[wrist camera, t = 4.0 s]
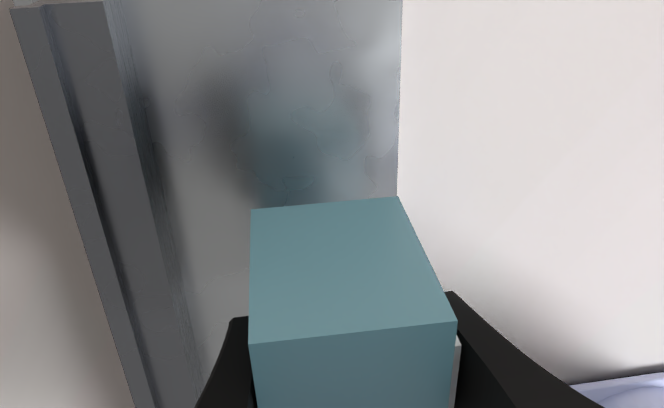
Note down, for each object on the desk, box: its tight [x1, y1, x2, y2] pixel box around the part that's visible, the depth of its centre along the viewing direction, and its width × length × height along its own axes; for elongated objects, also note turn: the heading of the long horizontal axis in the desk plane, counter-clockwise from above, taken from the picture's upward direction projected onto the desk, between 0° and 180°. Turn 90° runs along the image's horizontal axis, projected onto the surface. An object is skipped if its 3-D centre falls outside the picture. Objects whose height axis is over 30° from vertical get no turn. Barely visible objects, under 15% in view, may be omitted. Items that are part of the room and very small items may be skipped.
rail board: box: [9, 0, 402, 408], centre depth 18 cm, size 22×10×3 cm, turn 2°
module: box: [248, 196, 462, 408], centre depth 13 cm, size 5×4×5 cm
